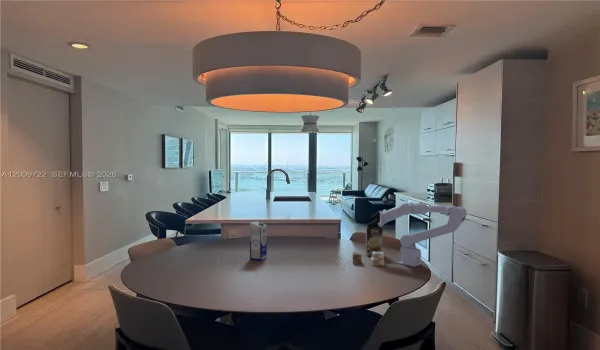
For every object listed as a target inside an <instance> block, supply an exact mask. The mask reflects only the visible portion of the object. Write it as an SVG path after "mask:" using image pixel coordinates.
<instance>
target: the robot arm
mask: <svg viewBox="0 0 600 350" xmlns="http://www.w3.org/2000/svg"><path fill="white" fill-rule="evenodd" d="M427 213H443V214H444V215H445V216H446V217H448V221H447V223H444V224H442V225H439V226H436V227H432V228H428V229H426V230H421V231H418V232H408V233H407V234H405V235H404V234H403V235H402V236H401V237H400V241H399V242H400V245H401V258H400V259H401V261H398V262H397V263H398V264H399V265H403V266H409V267H412V268H414V267H419V266H421V265H423V263H422V250H421V249H420V248H418V247H417V245H416V244H417V243H420V242H422V241H427V240H430V239H433V238H436V237H437V238H438V237H440V236H443V235H447V234H450V233H454V232H456V231H457V230H458V229H459V228H460V226H461V225H462V224H463V223H464V221H465V220H466V219H467V213H468V212H467V210H466V208H465V207H463V206H455V205H428V204H426V203H424V202H422V201H420V202H419V203H418V202H417V203H415V202H407V203H403V204H401V205H399V206H395V207H393V208H390V209H388V210H387V209H383V210H382V211H381V209H379V210H378V211H376V212H375V214H373V215H371V216H370V217H369V219H370V221H372V222H369V223H368V224H367V226H368V227H369V228H383V226H384V225H385V224H387V223H389V222H391V221H394V220H396V219H399V218H401V217H403V216H408V215H421V216H422V215H423V216H425V215H427Z"/></svg>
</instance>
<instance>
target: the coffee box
mask: <svg viewBox="0 0 600 350" xmlns="http://www.w3.org/2000/svg"><path fill="white" fill-rule="evenodd" d="M365 226H366V225H365ZM383 232H384V230H383V227H382V228H369V227H368V226H366V227H365V256H367V257H368V256H369V257H372V252H383V235H384V234H383Z"/></svg>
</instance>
